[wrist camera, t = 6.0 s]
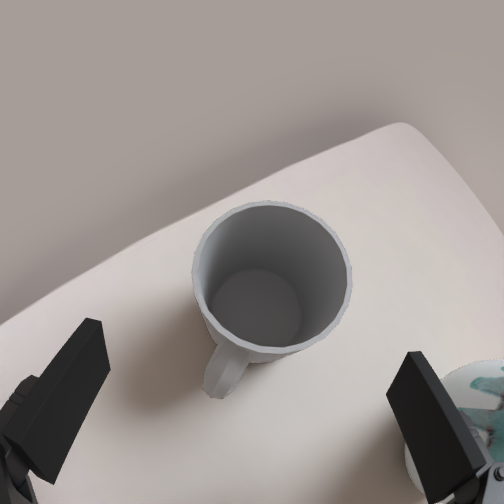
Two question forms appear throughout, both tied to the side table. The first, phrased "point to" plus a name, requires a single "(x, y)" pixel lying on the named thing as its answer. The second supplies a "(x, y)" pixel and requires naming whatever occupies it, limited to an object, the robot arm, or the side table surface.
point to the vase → (475, 407)
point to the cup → (267, 287)
